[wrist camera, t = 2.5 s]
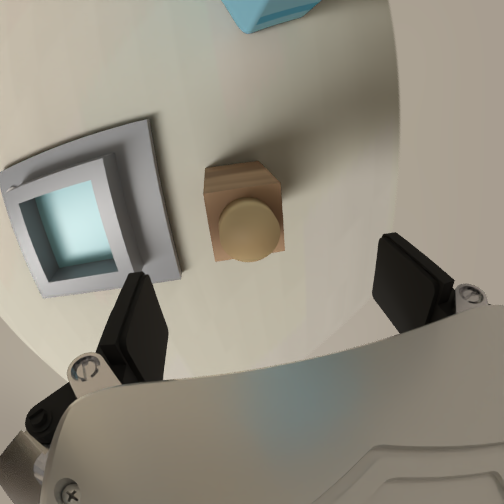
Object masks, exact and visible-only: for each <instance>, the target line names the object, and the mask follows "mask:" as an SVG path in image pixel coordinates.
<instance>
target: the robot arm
mask: <svg viewBox="0 0 504 504" xmlns="http://www.w3.org/2000/svg"><path fill="white" fill-rule="evenodd" d="M453 284H454V279H452V278H451V277H450V276H449V275H448V274H447V273H446V272H444V271H443V270H442V269H441V268H439V266H437V265H436V264H435V263H434V262H433V261H431V260H430V259H429V258H428V257H427V256H425V255H424V254H423V253H421V252H420V251H419V250H418V249H417V248H415V247H414V246H413V245H412V244H410V243H409V242H408V241H407V240H405V239H404V238H403V237H401V236H400V235H399V234H397V233H396V232H395V233H388V234H383V235H382V238H380V239H379V243H378V252H377V261H376V268H375V276H374V283H373V290H372V295H373V298H374V299H375V301H376V302H377V304H378V305H379V306H380V307H381V309H382V310H383V311H384V313H385V314H386V315H387V317H388V318H389V319H390V321H391V322H392V324H393V325H394V326H395V328H396V329H397V330H398V332H399V333H400V334H398V335H395V336H392V337H389V338H385V339H382V340H378V341H376V342H372V343H368V344H365V345H361V346H357V347H354V348H350V349H346V350H343V351H339V352H335V353H331V354H327V355H322V356H318V357H314V358H309V359H305V360H300V361H295V362H291V363H286V364H280V365H275V366H270V367H264V368H259V369H253V370H247V371H240V372H234V373H227V374H219V375H211V376H202V377H193V378H183V379H171V380H163V373H164V365H165V357H166V349H167V342H168V327H167V325H166V322H165V319H164V316H163V314H162V311H161V308H160V305H159V302H158V299H157V297H156V294H155V291H154V288H153V285H152V282H151V279H150V276H149V275H148V274H145V273H144V272H143V271H140V272H134V273H129V274H128V276H127V278H126V280H125V283H124V285H123V287H122V289H121V292H120V294H119V296H118V299H117V301H116V303H115V306H114V308H113V310H112V311H111V314H110V316H109V319H108V321H107V324H106V326H105V329H104V331H103V334H102V337H101V339H100V342H99V344H98V347H97V350H96V353H94V352H89V353H84V354H82V355H80V356H78V357H77V358H75V359H74V360H73V361H72V362H71V364H70V365H69V367H68V370H67V377H68V380H69V382H68V383H67V384H65V385H64V386H62V387H61V388H60V389H58V390H57V391H55V392H54V393H53V394H51V395H50V396H48V397H47V398H45V399H44V400H42V401H41V402H40V403H38V404H37V405H35V406H34V407H33V408H32V409H31V410H30V411H29V413H28V414H27V417H26V422H25V426H26V431H25V432H23V431H22V430H21V431H20V432H19V433H18V434H17V435H16V437H15V438H14V439H13V441H12V442H11V443H10V444H9V445H8V446H7V448H6V449H5V450H4V452H3V453H2V454H1V455H0V485H1V486H2V488H3V489H4V491H5V492H6V494H7V495H8V496H9V498H10V499H11V500H12V502H13V503H14V504H504V306H503V305H491V304H488V301H487V297H486V295H485V293H484V292H483V291H482V290H481V289H480V288H478V287H476V286H475V285H471V284H460V285H458V286H457V288H456V289H455V290H454V289H453V288H452V287H453Z"/></svg>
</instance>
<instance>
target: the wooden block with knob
mask: <svg viewBox="0 0 504 504" xmlns="http://www.w3.org/2000/svg"><path fill="white" fill-rule="evenodd" d="M203 195H204V201H205V207H206V212H207V218H208V224H209V230H210V235H211V241H212V246H213V251H214V257H215V262H217V261H223V260H229V259H236V260H238V261H242V262H254V261H258V260H261V259H263V258H265V257H267V256H268V255H269V254H271V253H273V252H280V251H285V246H284V228H283V212H282V196H281V183H280V182H279V181H278V180H277V179H276V178H275V177H274V176H273V175H272V174H271V173H270V172H269V171H268V170H267V169H266V168H265V167H264V166H263V165H262V164H261V163H260V162H259V161H253V162H245V163H238V164H230V165H224V166H217V167H210V168H205V178H204V192H203Z"/></svg>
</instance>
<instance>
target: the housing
mask: <svg viewBox="0 0 504 504" xmlns="http://www.w3.org/2000/svg"><path fill="white" fill-rule="evenodd" d="M0 188H1V192H2V196H3V199H4V203H5V206H6V209H7V213H8V216H9V219H10V222H11V225H12V228H13V230H14V233H15V236H16V239H17V241H18V244H19V247H20V249H21V252H22V254H23V257H24V259H25V261H26V264H27V266H28V268H29V270H30V273H31V275H32V277H33V279H34V281H35V283H36V286H37V288H38V290H39V292H40V294H41V296H42V298H51V297H59V296H67V295H74V294H82V293H89V292H96V291H104V290H111V289H118V288H122V287H123V285H124V283H125V280H126V278H127V276H128V274H129V273H134V272H140V271H143V272H144V273H145V274H148V275H149V276H150V279H151V282H152V284H153V283H160V282H166V281H173V280H180V279H181V275H182V272H181V268H180V264H179V260H178V256H177V253H176V249H175V244H174V240H173V236H172V232H171V228H170V223H169V219H168V215H167V210H166V205H165V201H164V196H163V191H162V186H161V181H160V176H159V171H158V166H157V160H156V155H155V149H154V143H153V137H152V131H151V125H150V119H146V120H142V121H138V122H134V123H130V124H126V125H122V126H119V127H115V128H112V129H108V130H105V131H101V132H98V133H95V134H92V135H89V136H86V137H83V138H80V139H77V140H74V141H71V142H68V143H66V144H63V145H60V146H58V147H55V148H53V149H50V150H48V151H45V152H43V153H40V154H38V155H36V156H33V157H31V158H29V159H26V160H24V161H22V162H20V163H18V164H16V165H13V166H11V167H9V168H7V169H5V170H3V171H1V172H0Z"/></svg>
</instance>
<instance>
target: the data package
mask: <svg viewBox="0 0 504 504" xmlns="http://www.w3.org/2000/svg"><path fill="white" fill-rule="evenodd" d="M320 1H321V0H222V2H223V3H224V5H225V7H226V8H227V10H228V11H229V13H230V15H231V16H232V18H233V19H234V21H235V23H236V24H237V26H238V27H239V28H240V29H241V30H242V31H243V32H244V33H246V34H250V33H253V32H256V31H259V30H261V29H264V28H267V27H270V26H273V25H276V24H280V23H283V22H286V21H290V20H293V19H297V18H300V17H303V16H304V15H305V14H306V13H307V12H308V11H310V10H311V9H312V8H313V7H314V6H315V5H317V4H318V3H319V2H320Z"/></svg>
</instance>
